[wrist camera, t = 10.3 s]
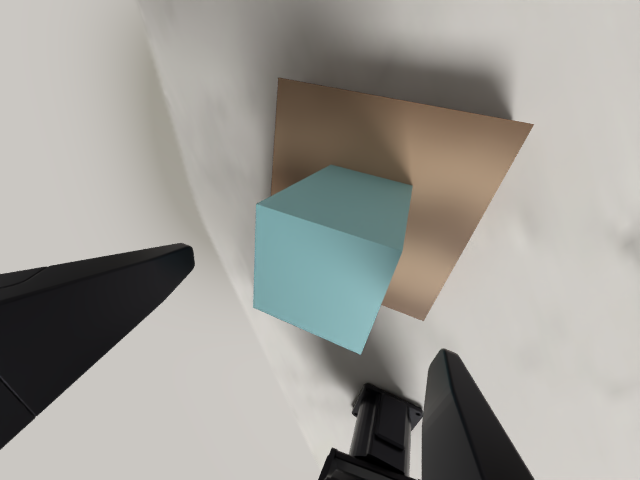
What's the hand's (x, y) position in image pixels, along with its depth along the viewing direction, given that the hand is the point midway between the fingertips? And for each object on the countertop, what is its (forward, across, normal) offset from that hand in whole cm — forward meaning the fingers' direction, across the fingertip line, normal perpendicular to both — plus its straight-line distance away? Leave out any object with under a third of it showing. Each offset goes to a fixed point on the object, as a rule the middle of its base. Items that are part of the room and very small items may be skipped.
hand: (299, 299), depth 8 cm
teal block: (+9, 0, 0) cm, 9 cm away
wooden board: (+12, 0, 0) cm, 12 cm away
